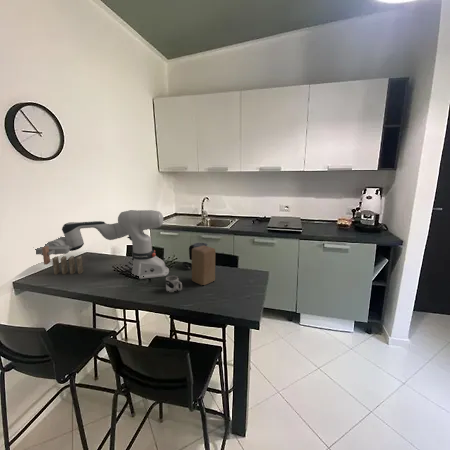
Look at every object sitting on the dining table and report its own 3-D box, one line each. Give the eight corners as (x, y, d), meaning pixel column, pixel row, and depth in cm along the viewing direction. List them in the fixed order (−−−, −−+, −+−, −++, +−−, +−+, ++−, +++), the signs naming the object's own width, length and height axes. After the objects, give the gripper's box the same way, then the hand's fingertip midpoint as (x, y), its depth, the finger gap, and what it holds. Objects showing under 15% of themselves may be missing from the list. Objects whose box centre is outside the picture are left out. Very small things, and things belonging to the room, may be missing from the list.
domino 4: (75, 271, 172) (73, 256, 170) (73, 274, 169) (71, 258, 166) (72, 271, 172) (71, 256, 170) (70, 274, 168) (68, 258, 166)
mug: (163, 290, 150) (163, 278, 148) (171, 285, 155) (171, 274, 154) (177, 295, 144) (177, 283, 143) (185, 290, 150) (185, 278, 149)
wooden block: (215, 281, 162) (216, 248, 158) (202, 286, 155) (203, 252, 150) (203, 276, 168) (204, 244, 164) (191, 281, 161) (190, 248, 157)
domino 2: (60, 272, 171) (58, 256, 169) (57, 274, 167) (55, 258, 165) (57, 272, 171) (55, 256, 169) (54, 274, 167) (52, 258, 165)
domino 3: (67, 271, 172) (66, 256, 170) (65, 274, 168) (63, 258, 166) (65, 271, 172) (63, 256, 169) (62, 274, 168) (60, 258, 166)
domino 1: (50, 261, 169) (48, 246, 167) (47, 264, 165) (45, 248, 163) (47, 262, 169) (45, 246, 167) (44, 264, 165) (42, 248, 163)
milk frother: (209, 264, 189) (209, 243, 186) (200, 272, 174) (199, 250, 171) (190, 261, 193) (190, 241, 190) (179, 269, 179) (179, 247, 175)
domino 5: (83, 271, 173) (81, 255, 171) (80, 273, 169) (79, 258, 167) (80, 271, 173) (79, 255, 171) (78, 273, 169) (76, 258, 167)
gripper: (73, 251, 180) (64, 258, 167) (39, 252, 178) (27, 259, 164) (72, 242, 179) (63, 248, 166) (38, 242, 176) (26, 249, 163)
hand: (45, 254), depth 165 cm, fingers closed on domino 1, 2 cm apart
